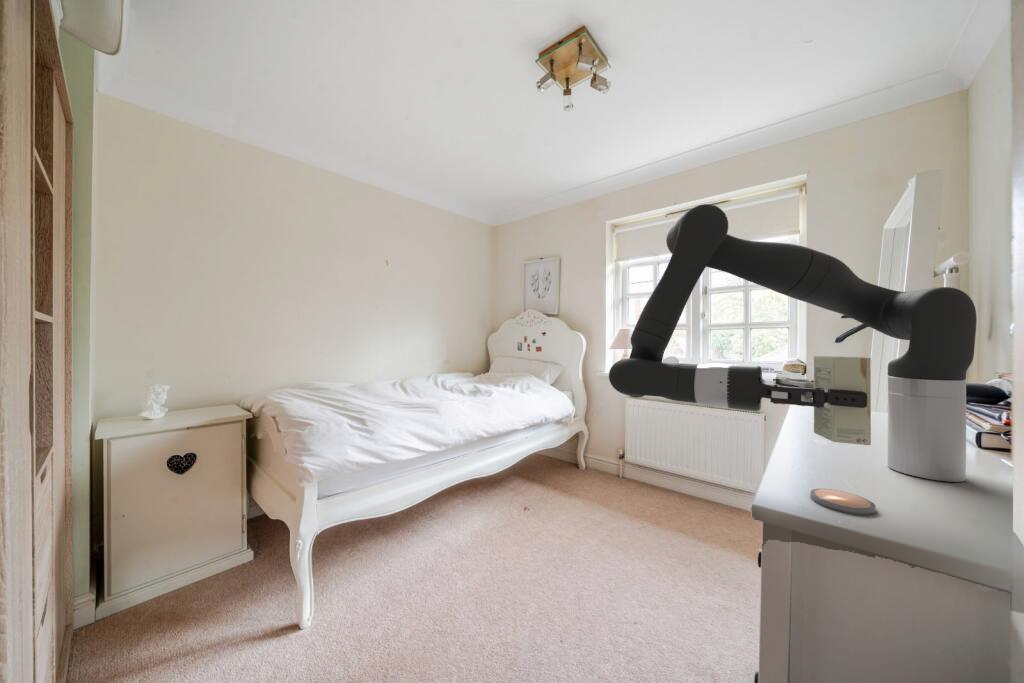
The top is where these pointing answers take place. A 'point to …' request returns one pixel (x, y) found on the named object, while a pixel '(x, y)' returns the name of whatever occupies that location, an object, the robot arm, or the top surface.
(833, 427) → the skincare box
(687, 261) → the robot arm
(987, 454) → the top surface
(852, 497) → the tile
